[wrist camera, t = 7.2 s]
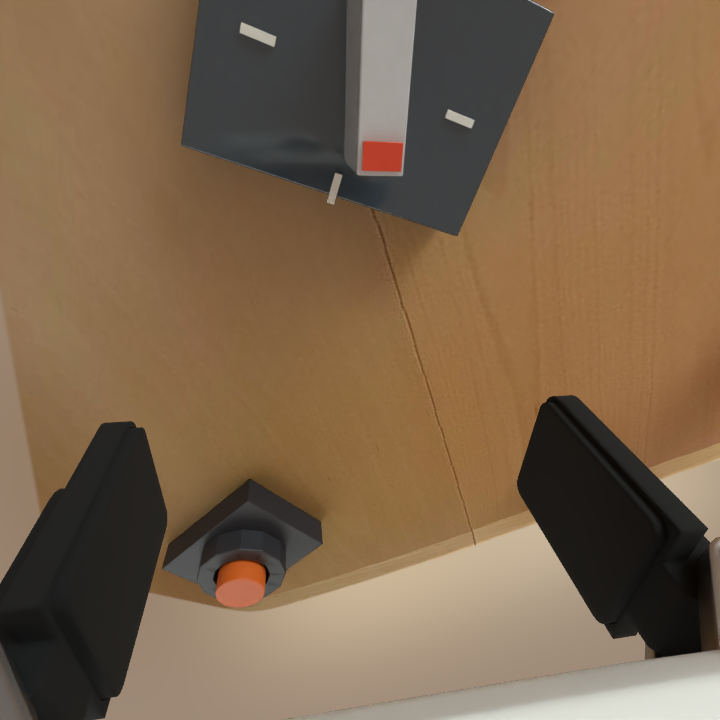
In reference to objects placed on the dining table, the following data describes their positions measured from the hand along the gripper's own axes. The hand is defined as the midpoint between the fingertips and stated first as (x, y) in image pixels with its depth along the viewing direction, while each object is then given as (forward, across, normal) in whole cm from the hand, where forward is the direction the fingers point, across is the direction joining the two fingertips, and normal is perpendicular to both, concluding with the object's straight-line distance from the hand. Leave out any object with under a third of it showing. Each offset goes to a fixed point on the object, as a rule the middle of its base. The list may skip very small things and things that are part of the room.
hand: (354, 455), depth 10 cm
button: (+14, +6, +25) cm, 29 cm away
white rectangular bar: (+14, -2, -8) cm, 17 cm away
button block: (+18, +6, +24) cm, 31 cm away
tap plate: (+17, -2, -8) cm, 19 cm away
